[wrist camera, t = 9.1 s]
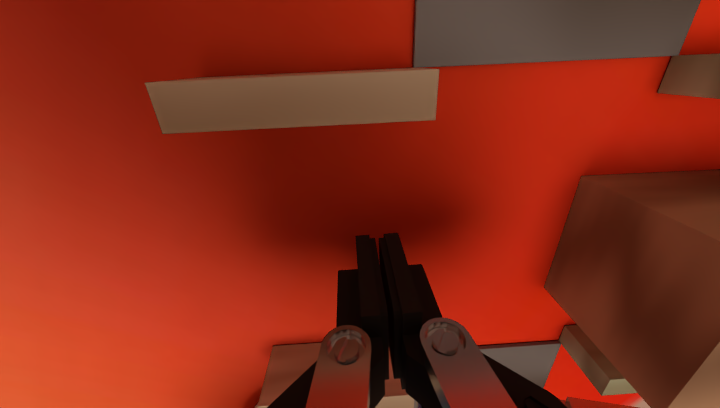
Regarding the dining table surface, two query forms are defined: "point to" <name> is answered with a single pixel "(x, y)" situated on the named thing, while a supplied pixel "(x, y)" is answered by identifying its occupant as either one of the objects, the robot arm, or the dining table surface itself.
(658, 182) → the walnut block
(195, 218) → the dining table surface
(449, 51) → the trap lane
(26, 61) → the dining table surface
